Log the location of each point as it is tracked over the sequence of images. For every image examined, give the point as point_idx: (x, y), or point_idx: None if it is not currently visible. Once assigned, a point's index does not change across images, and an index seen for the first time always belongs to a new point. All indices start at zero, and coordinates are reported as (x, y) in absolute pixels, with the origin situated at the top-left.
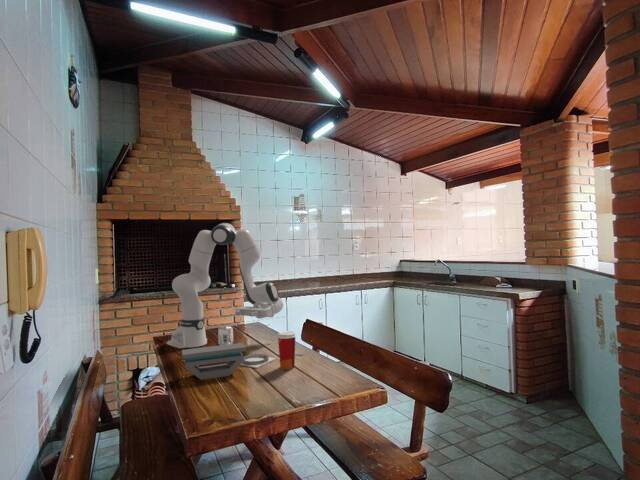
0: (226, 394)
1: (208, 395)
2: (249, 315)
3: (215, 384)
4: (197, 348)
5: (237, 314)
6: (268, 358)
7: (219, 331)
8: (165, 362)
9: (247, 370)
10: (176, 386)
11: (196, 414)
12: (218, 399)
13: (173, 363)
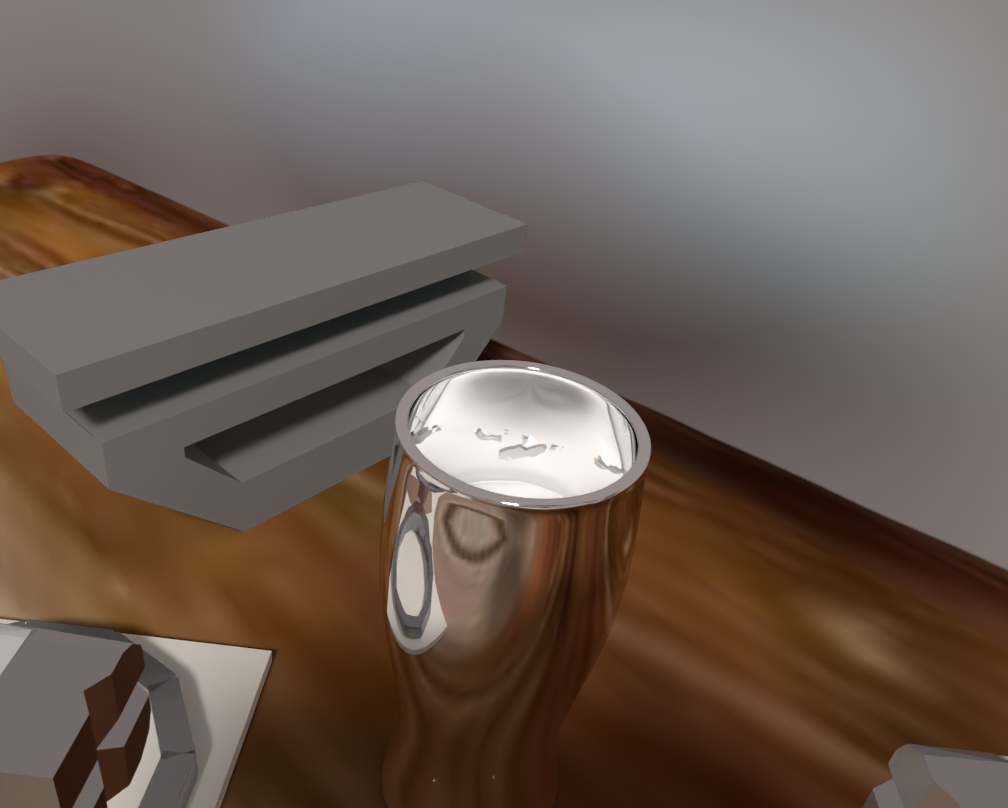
0: None
1: None
2: (147, 698)
3: None
4: (438, 246)
5: (872, 804)
6: None
7: (549, 403)
8: (931, 544)
9: (17, 559)
10: None
11: (110, 202)
12: (68, 263)
13: (844, 542)
